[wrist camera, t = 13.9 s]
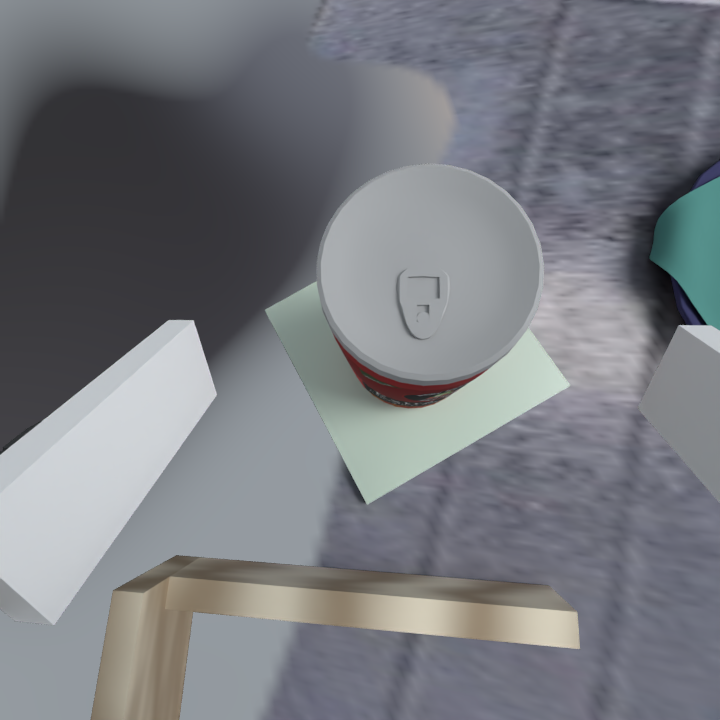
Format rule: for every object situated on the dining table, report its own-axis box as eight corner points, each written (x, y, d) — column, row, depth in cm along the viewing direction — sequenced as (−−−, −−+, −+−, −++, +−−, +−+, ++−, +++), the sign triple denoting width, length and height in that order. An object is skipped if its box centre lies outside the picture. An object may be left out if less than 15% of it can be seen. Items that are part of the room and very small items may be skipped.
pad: (567, 386, 22) (570, 385, 21) (367, 503, 21) (367, 504, 21) (442, 213, 25) (443, 210, 24) (266, 312, 24) (264, 310, 24)
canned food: (364, 422, 22) (339, 407, 11) (337, 303, 23) (294, 190, 13) (487, 394, 21) (585, 350, 11) (451, 276, 23) (504, 137, 12)
